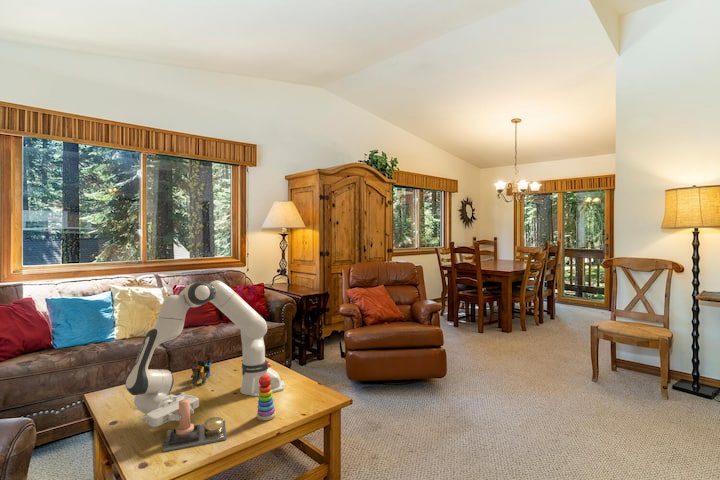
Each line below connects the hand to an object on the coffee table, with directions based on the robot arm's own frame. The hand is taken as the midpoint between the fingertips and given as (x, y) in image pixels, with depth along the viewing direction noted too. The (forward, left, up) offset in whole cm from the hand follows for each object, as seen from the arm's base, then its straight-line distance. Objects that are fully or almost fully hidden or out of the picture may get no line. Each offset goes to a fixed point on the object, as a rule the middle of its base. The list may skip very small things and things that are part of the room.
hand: (186, 415), depth 151 cm
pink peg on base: (+1, -1, -7) cm, 7 cm away
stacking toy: (-31, -7, -10) cm, 34 cm away
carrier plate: (-3, -1, -10) cm, 10 cm away
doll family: (-4, -61, -10) cm, 62 cm away
